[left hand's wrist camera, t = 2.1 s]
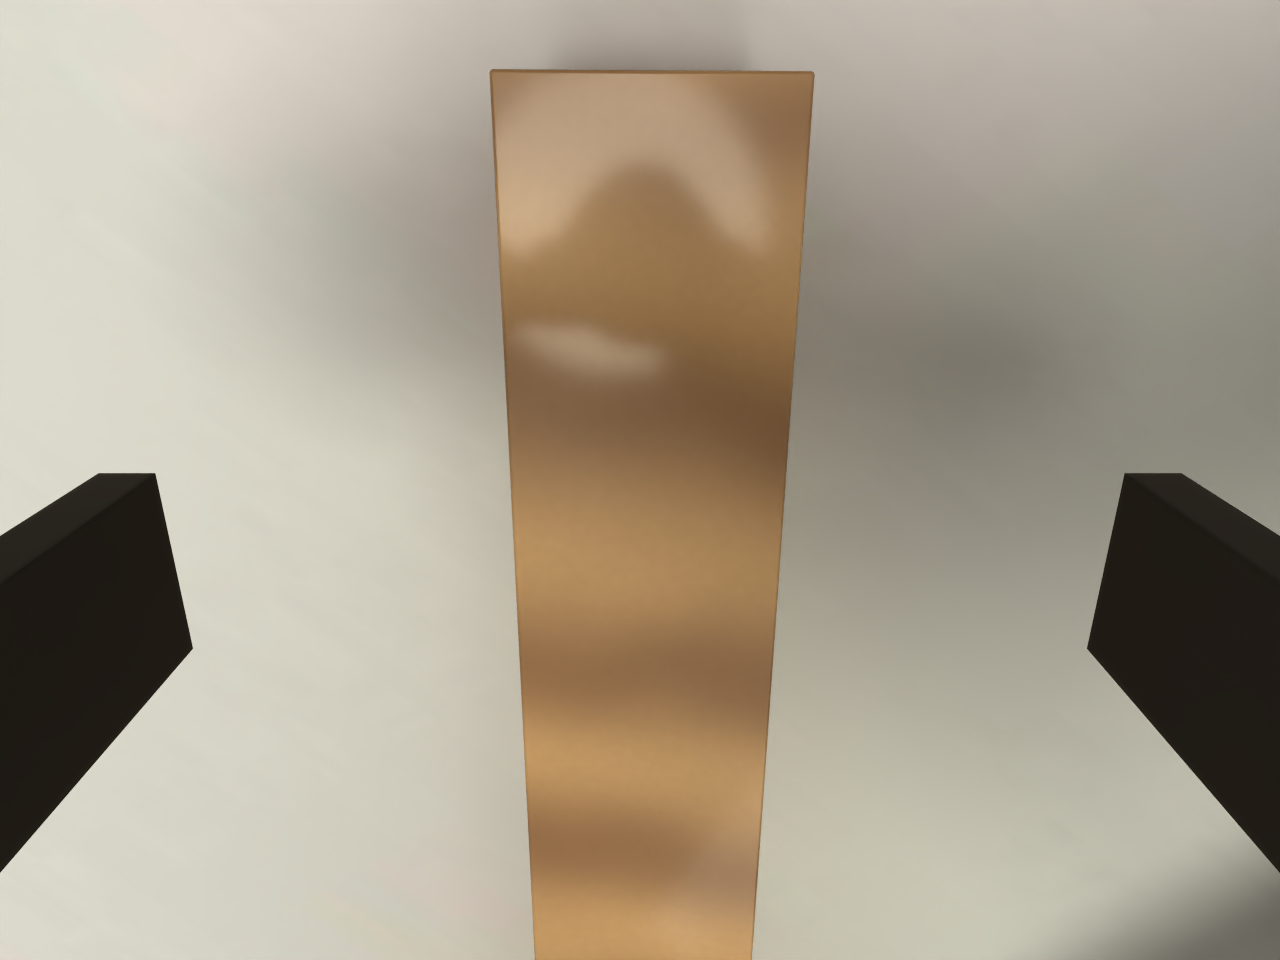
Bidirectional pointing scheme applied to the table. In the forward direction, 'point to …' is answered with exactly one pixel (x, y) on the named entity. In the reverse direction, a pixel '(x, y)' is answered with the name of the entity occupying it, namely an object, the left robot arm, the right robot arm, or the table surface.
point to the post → (647, 485)
